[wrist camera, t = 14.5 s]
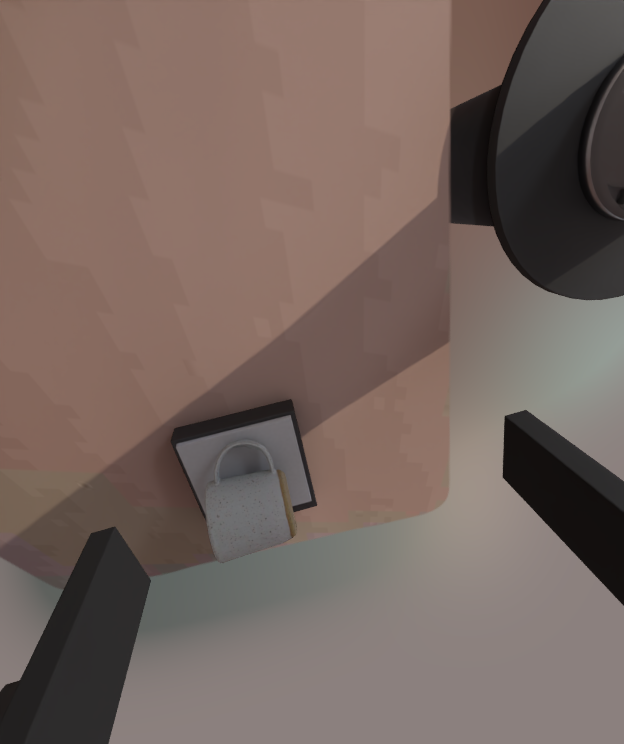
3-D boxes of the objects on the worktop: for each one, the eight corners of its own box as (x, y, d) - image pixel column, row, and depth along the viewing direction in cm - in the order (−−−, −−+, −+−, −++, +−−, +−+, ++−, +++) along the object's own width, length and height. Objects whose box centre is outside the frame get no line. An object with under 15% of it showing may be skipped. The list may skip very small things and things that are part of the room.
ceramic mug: (293, 501, 42) (303, 558, 35) (223, 519, 41) (219, 581, 34) (276, 426, 37) (283, 474, 30) (197, 444, 36) (186, 498, 30)
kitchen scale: (291, 398, 40) (295, 413, 37) (313, 491, 46) (318, 509, 43) (174, 428, 39) (169, 445, 36) (213, 518, 45) (211, 539, 42)
